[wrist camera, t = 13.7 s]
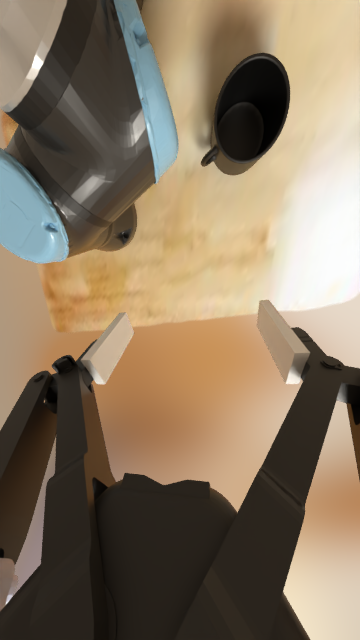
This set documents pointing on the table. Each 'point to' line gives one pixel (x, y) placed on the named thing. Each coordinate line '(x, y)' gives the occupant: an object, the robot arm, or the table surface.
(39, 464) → the robot arm
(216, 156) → the mug
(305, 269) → the table surface
